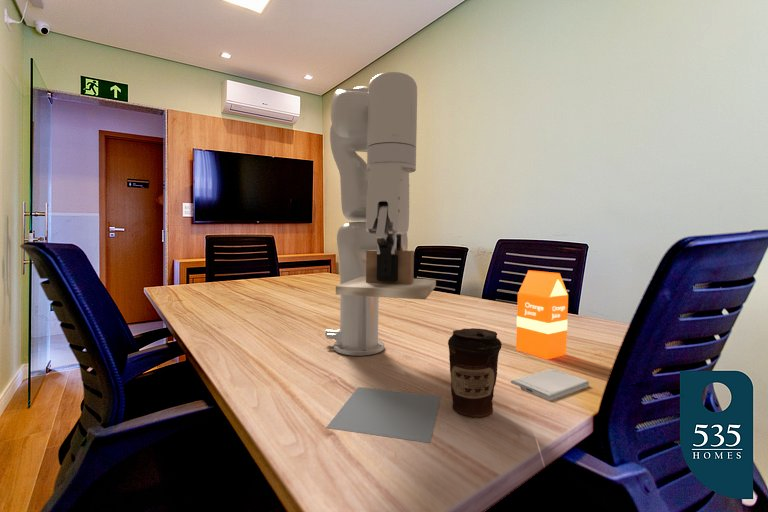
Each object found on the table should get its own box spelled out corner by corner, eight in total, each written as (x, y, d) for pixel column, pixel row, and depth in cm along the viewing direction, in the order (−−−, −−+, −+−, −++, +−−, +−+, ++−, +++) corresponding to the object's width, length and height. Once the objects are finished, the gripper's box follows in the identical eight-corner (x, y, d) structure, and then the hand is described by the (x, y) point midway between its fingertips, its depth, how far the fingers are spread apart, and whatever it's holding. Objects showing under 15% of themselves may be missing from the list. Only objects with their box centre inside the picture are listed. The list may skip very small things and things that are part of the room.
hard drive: (550, 367, 77) (510, 379, 71) (589, 380, 70) (549, 394, 64) (549, 375, 77) (510, 387, 71) (589, 389, 70) (549, 404, 64)
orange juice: (547, 359, 85) (550, 273, 84) (515, 349, 93) (517, 270, 92) (566, 354, 90) (569, 272, 89) (534, 345, 97) (537, 269, 96)
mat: (326, 430, 53) (326, 427, 53) (358, 389, 68) (358, 386, 68) (429, 445, 49) (429, 442, 49) (440, 398, 64) (440, 396, 64)
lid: (335, 294, 53) (335, 251, 53) (362, 282, 66) (363, 248, 65) (425, 299, 50) (426, 254, 50) (435, 286, 63) (436, 250, 62)
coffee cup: (502, 428, 54) (505, 341, 53) (445, 422, 56) (447, 337, 55) (496, 402, 63) (498, 327, 62) (447, 397, 64) (448, 324, 64)
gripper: (381, 170, 65) (379, 273, 66) (350, 150, 50) (349, 285, 51) (423, 169, 64) (421, 275, 65) (405, 147, 48) (403, 288, 49)
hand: (389, 278), depth 58 cm, fingers closed on lid, 2 cm apart
